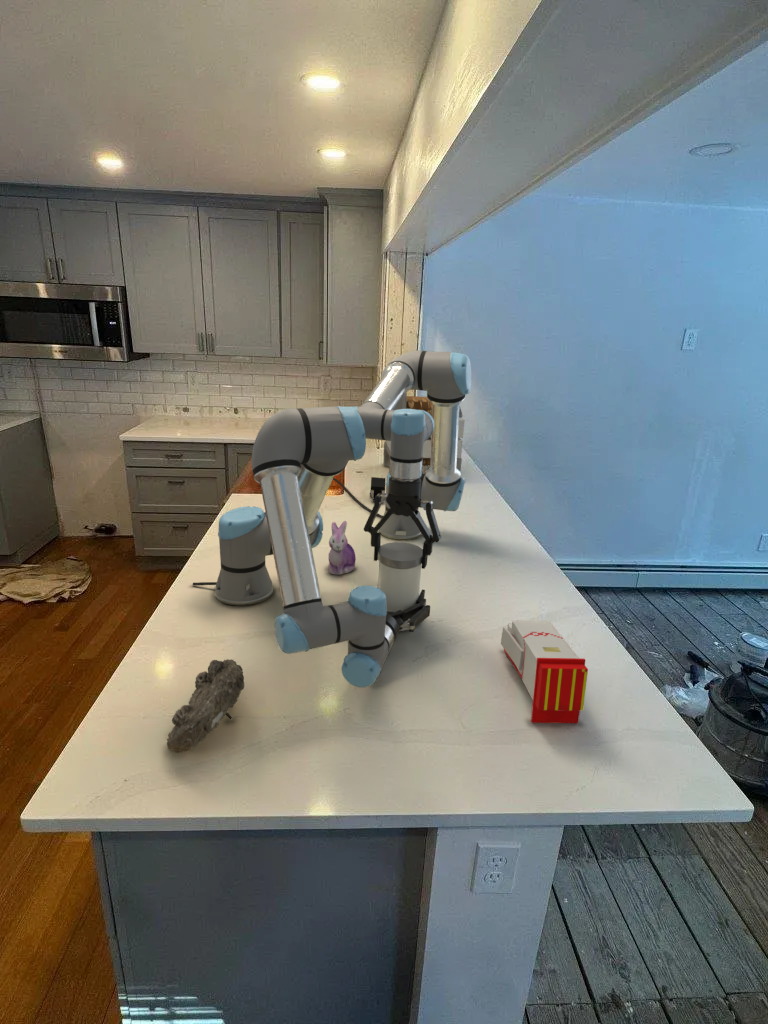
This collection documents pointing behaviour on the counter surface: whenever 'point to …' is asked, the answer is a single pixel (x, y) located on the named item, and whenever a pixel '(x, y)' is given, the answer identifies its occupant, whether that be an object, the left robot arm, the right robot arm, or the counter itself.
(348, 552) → the figurine
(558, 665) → the toy
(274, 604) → the counter surface
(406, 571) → the jar
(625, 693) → the counter surface
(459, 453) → the white slatted crate
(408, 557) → the lid
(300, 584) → the left robot arm
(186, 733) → the fossil
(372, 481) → the figurine character
